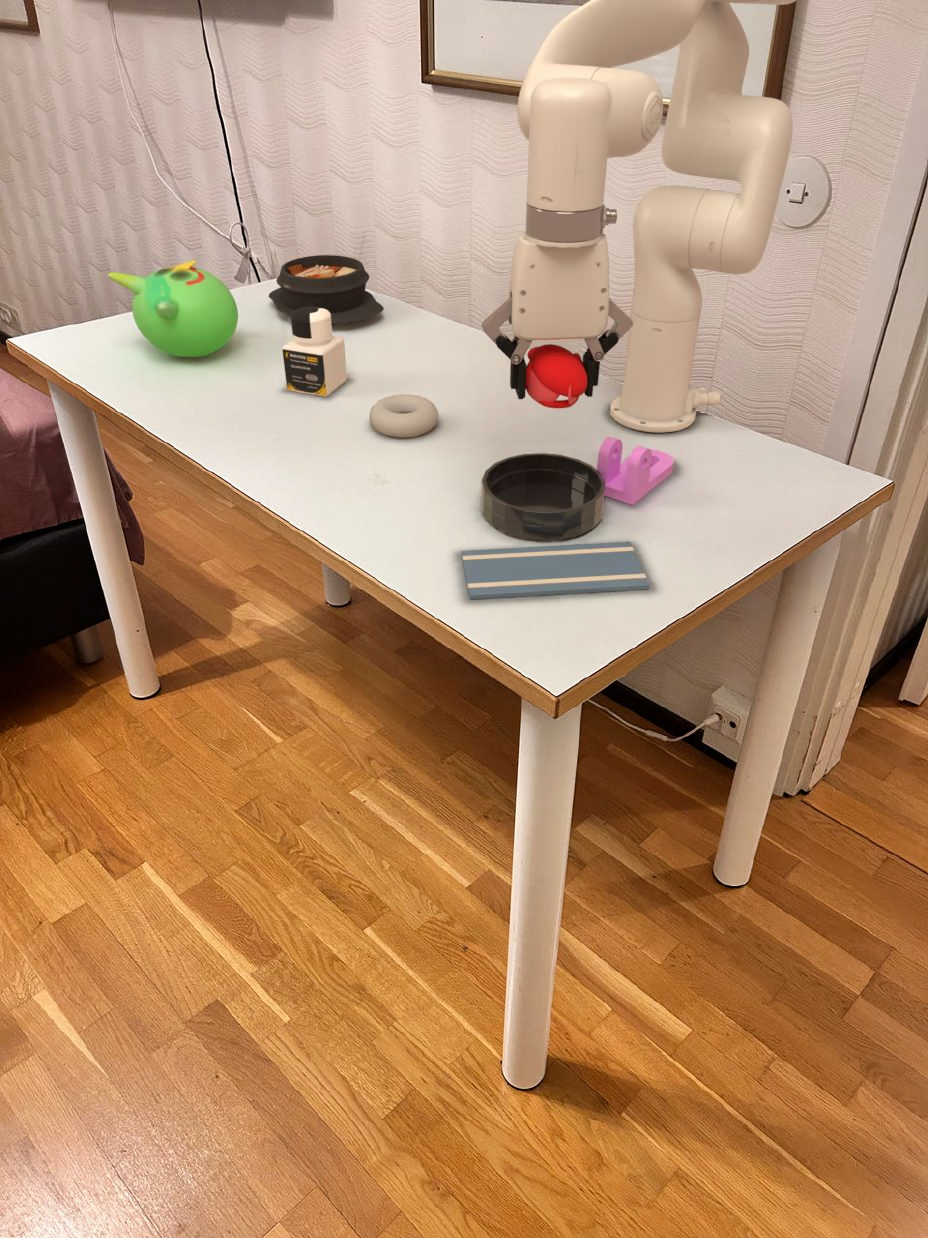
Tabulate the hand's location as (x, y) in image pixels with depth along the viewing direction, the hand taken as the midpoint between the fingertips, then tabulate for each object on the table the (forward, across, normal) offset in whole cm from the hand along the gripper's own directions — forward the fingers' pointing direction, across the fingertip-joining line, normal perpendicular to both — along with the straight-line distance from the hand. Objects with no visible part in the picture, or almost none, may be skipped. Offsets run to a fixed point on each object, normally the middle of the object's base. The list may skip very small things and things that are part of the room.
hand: (553, 391), depth 103 cm
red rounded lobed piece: (+1, 0, 0) cm, 1 cm away
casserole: (+18, +29, -81) cm, 87 cm away
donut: (+18, +16, -30) cm, 39 cm away
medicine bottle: (+18, +29, -46) cm, 57 cm away
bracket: (+18, -14, -11) cm, 26 cm away
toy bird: (+18, +51, -62) cm, 82 cm away
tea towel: (+18, +1, +9) cm, 20 cm away
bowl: (+18, 0, -4) cm, 18 cm away
